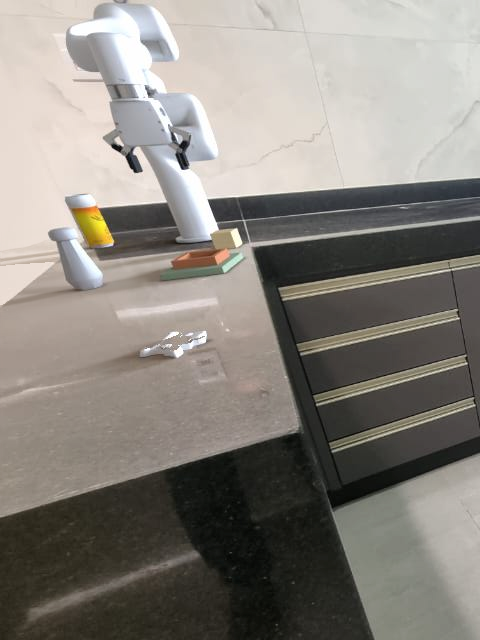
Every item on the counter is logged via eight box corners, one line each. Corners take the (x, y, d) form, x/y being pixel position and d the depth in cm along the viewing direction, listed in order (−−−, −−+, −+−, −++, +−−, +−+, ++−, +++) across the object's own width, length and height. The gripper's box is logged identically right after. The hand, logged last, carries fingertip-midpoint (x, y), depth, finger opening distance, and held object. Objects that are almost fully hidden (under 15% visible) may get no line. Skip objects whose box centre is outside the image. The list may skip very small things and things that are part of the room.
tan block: (222, 245, 152) (216, 230, 151) (242, 243, 154) (236, 228, 152) (215, 250, 147) (209, 234, 145) (236, 247, 149) (230, 231, 147)
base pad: (188, 264, 133) (182, 250, 132) (243, 258, 137) (238, 244, 136) (162, 280, 120) (155, 265, 118) (224, 273, 123) (218, 258, 122)
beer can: (118, 245, 160) (94, 193, 153) (92, 249, 155) (66, 197, 149) (111, 243, 163) (87, 193, 156) (85, 247, 158) (59, 196, 152)
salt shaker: (85, 291, 114) (53, 231, 108) (64, 291, 115) (33, 231, 110) (114, 283, 119) (85, 225, 114) (94, 283, 120) (65, 225, 115)
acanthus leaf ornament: (176, 339, 86) (172, 328, 85) (216, 338, 86) (211, 328, 85) (134, 358, 79) (128, 347, 78) (176, 358, 79) (171, 346, 78)
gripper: (181, 93, 130) (208, 167, 137) (93, 96, 125) (127, 172, 132) (168, 92, 123) (197, 170, 131) (75, 95, 118) (112, 175, 126)
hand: (162, 171), depth 131 cm, fingers open, 9 cm apart
